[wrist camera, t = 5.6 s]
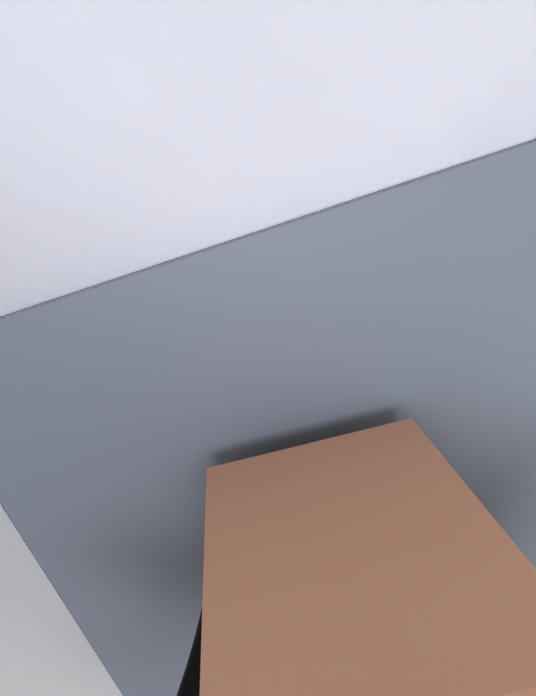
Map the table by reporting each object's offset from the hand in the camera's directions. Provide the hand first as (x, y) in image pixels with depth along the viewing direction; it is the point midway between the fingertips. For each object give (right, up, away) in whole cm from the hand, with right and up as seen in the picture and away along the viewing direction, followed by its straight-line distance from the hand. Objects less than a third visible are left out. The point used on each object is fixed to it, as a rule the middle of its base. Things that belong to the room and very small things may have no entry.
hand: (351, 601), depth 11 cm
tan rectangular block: (0, +1, +2) cm, 2 cm away
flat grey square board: (0, +1, +3) cm, 4 cm away
